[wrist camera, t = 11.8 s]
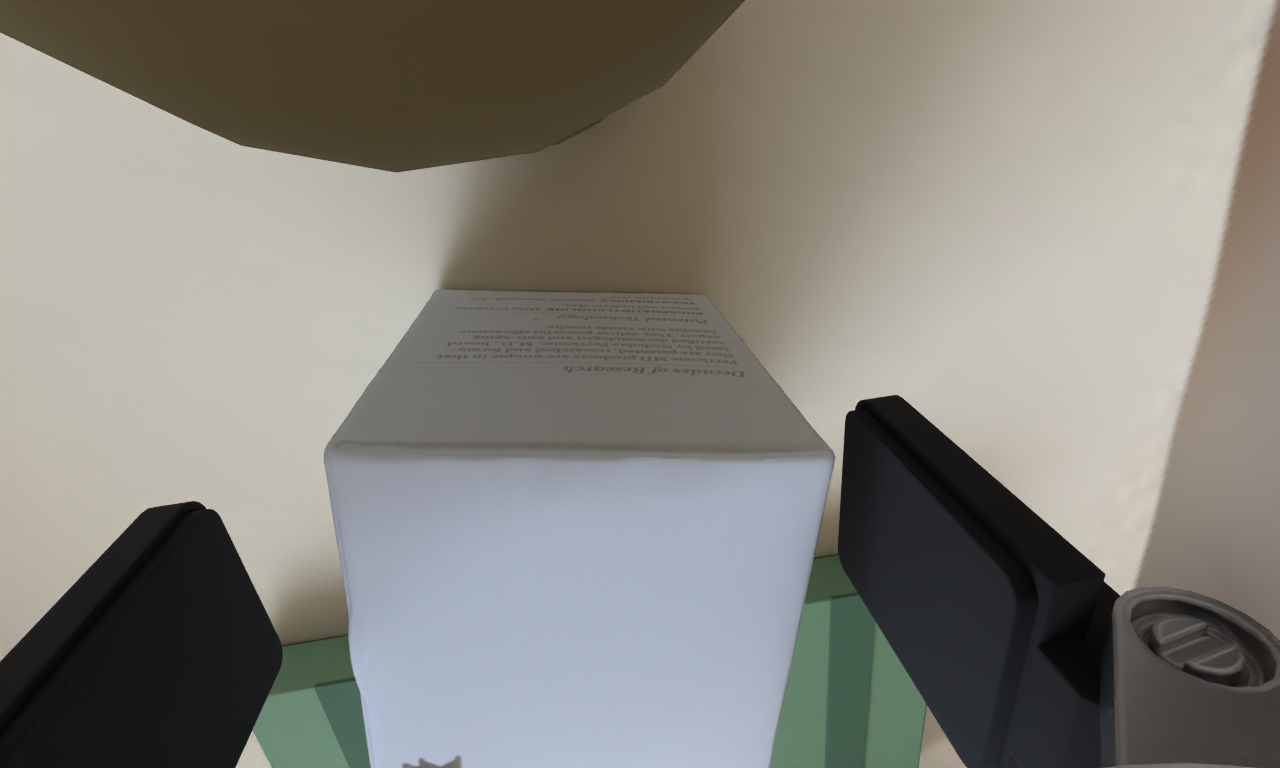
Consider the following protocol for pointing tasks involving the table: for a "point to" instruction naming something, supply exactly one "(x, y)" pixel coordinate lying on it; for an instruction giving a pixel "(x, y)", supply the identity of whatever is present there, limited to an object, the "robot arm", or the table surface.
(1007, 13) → the table surface
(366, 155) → the olive pawn
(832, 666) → the dish towel
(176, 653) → the robot arm
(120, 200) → the table surface
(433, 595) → the product box
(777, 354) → the table surface
